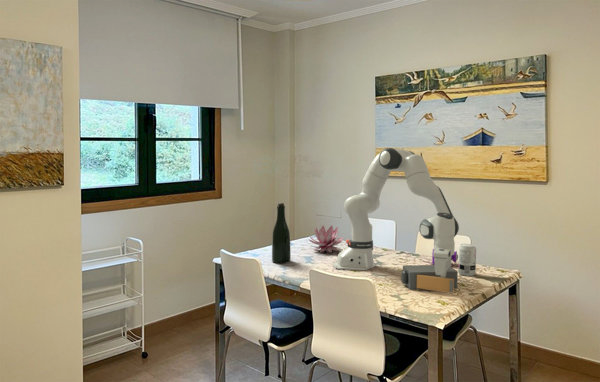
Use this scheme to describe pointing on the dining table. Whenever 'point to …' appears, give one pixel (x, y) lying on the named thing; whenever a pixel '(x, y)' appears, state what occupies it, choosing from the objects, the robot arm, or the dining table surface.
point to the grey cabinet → (411, 274)
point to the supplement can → (467, 260)
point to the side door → (435, 283)
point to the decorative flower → (326, 239)
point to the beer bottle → (281, 237)
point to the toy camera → (453, 257)
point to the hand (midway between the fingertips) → (443, 280)
